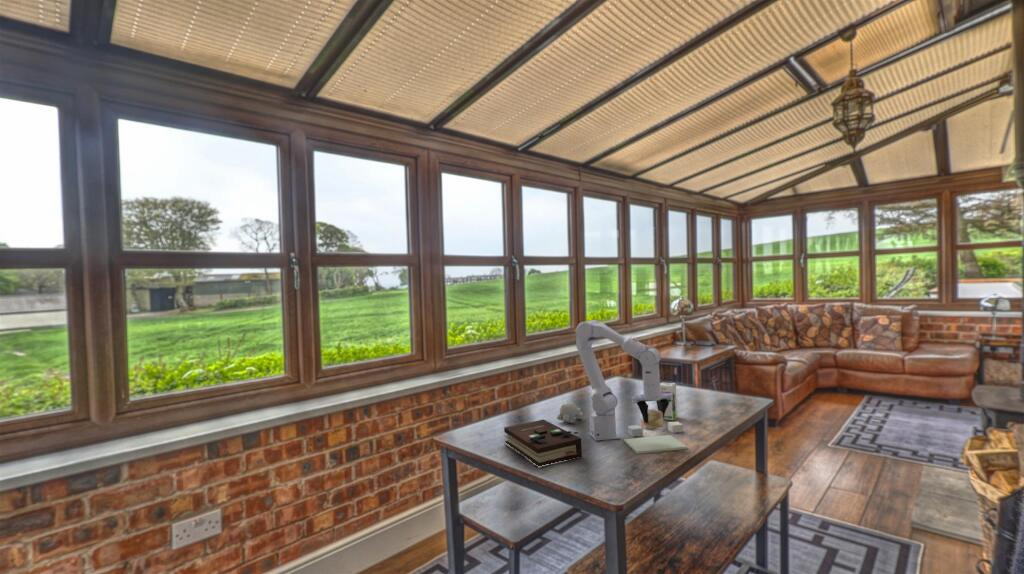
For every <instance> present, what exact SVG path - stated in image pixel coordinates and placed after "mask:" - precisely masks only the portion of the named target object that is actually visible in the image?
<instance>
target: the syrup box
mask: <svg viewBox="0 0 1024 574" xmlns="http://www.w3.org/2000/svg"><path fill="white" fill-rule="evenodd" d="M660 393H671V394H673V400H667V401H668V402H669V405H668V407H667V409H666V411H665V414H664V418H663V420H666V421H673V422H676V419H677V417H678V408H677V385H676V382H660Z"/></svg>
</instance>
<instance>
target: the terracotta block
mask: <svg viewBox="0 0 1024 574" xmlns="http://www.w3.org/2000/svg"><path fill="white" fill-rule="evenodd" d="M640 424H641V425H640V427H641V428H642V429H644V428H645V429H644V430H652V429H656V428H648V427H647V426H646V425H644V421H643V418H641V419H640Z"/></svg>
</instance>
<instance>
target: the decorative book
mask: <svg viewBox="0 0 1024 574" xmlns="http://www.w3.org/2000/svg"><path fill="white" fill-rule="evenodd" d="M503 429H504V433H505V434H506V435H504V437H505V438H507V440H504V443H505V442H506V443H507V444H509V445H510V446H511V447H513V448H514V449H516V450H517V451H519V452H520V453H521V454H523V455H524V456H526V457H527V458H528V459H530V460H531V461H532V462H533V463H535V464H536V465H538V466H542V465H546V464H551V463H555V462H559V461H564V460H568V461H570V460H569V459H572V460H574V459H573V458H576V459H578V458H577V457H580V458H583V449H582V448H583V447H582V438H581V437H580V436H577V434H579V432H578V431H574V432H573V431H572V430H569V431H567V430H565V429H564V428H561V427H559V426H557V425H555V424H553V423H552V422H550V421H548V420H547V419H546V420H545V419H540V420H534V421H529V422H524V423H520V424H515V425H511V426H506V427H503Z"/></svg>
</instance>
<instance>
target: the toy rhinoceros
mask: <svg viewBox="0 0 1024 574" xmlns="http://www.w3.org/2000/svg"><path fill="white" fill-rule="evenodd" d="M582 409H583V408H582V407H578V406H577V405H576V404H575V403H574V402H572V401H564V402H563V403H561V405H560V407H559V413H558V414H557V416H556V419H557V420H559V421H563V422H565V423H568V424H574V419H576V420H578V419H579V420H580V419H582V415H583V412H582Z"/></svg>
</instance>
